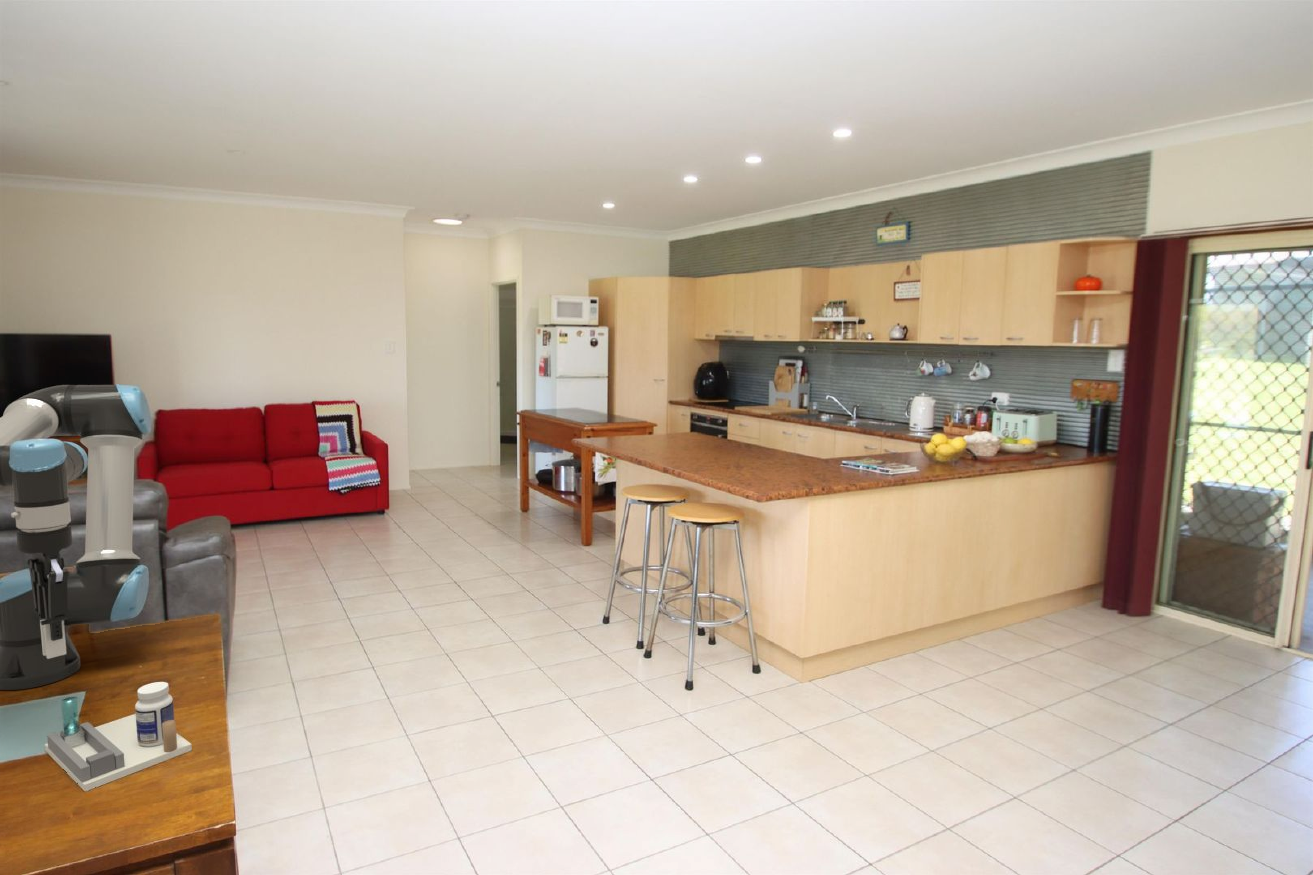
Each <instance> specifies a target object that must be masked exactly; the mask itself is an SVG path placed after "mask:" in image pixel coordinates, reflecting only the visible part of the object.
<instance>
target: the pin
mask: <svg viewBox="0 0 1313 875" xmlns="http://www.w3.org/2000/svg"><path fill="white" fill-rule="evenodd" d="M60 705H61V716H62V726H63V727H62V729H63V730H62V731H59V732H58V733H59V734H58V735H59V736H60V737H61V738H62V739H63V740H64V741H65V742H66V743H67V744H68V745H69V746H70V747H71V748H74V747H77V746H79V745H82V744H85V739H84V731H83V730H82V729H81V728H80V721H79V708H78V707H79V706H78V698H77V696H69V697H66V698H63V699H61V701H60Z"/></svg>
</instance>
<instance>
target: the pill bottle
mask: <svg viewBox="0 0 1313 875" xmlns="http://www.w3.org/2000/svg"><path fill="white" fill-rule="evenodd" d="M169 691H170V687H169V683H168V682H166V681H156V682H151V683H150V682H149V683H148V684H144V685H142V686H141V687H139V688H138V689H137V691H136V692H137V699H139V700H137V701H136V703H135V705H134V711H135V712H134V714H136V727H137V740H138V743H139V744H140V745H141V746H156V745H160V744H163V731H162V723H163V722H165V721H168V720H175V711H174V699H173V696H172V695H171V694H170V693H169Z"/></svg>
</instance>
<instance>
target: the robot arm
mask: <svg viewBox="0 0 1313 875" xmlns="http://www.w3.org/2000/svg"><path fill="white" fill-rule="evenodd" d="M151 432H152V417H151V412H150V407H149V404H148V400H147V397H146V394H145V392H144V391H143V389H142V388H141V387H139V386H137V385H131V384H130V385H128V384H119V383H116V384H89V385H88V384H77V385H76V384H61V385H55V386H50V387H45V388H42V389H39V390H35V391H33V392H30V393H28V394H26V395H23V396H22V397H19V398H17V399H15V400H14V401H13V402H11V403H9V404H8V405H7V407H6V408H5V410H4V412H3V415H2V416H1V417H0V487H12V493H13V495H12V496H13V506H14V510H15V511H14V512H10V513H11V514H10V516H11V518H13V519H14V518H15V527H16V528H17V529H18V531H17V532H16V545H17V550H18V552H20V553H21V554H22V553H23V554H29V555H30V554H32V557H31V558H28V559H27V560H26V561H27V562H26V564H27V565H28V566H27V567H28V568H25V569H20V570H18V571H15V572H13V573H9V574H6V575H5V576H3V577H1V578H0V690H3V691H15V690H17V691H18V690H26V689H31V688H32V689H33V688H37V687H41V686H45V685H49V684H54V683H56V682H58V681H61V680H64V679H66V678H68V677H70V676H71V675H73V674H76V672H78V671H79V670H80V668H81V656H80V654H79V653H78V650H77V649H76V647H75V645H74V643H73V641H72V640H71V637H70V636H69V633H68V632H69V631H68V627H69V626H79V625H88V624H99V623H100V624H101V623H108V622H113V623H116V622H117V621H124V620H130V619H133V618H135V617H138V615H140V613H142V612H141V611H143V609H144V606H145V604H146V600H147V596H148V591H149V587H150V586H149V584H150V577H149V574H150V572H149V568H148V566H146V565H144V564H141V557H139V556H138V555H137V554H135V553H134V551H133V535H134V534H133V533H134V532H133V528H134V525H133V524H134V478H135V476H134V475H135V450H136V448H137V447H139V446H140V445H141V444H143V435H144V436H147V435H149V434H150V433H151ZM58 436H59V437H60V436H61V437H62V436H63V437H65V436H66V437H67V436H69V437H70V436H75V437H77V436H79V437H80V438H79V441H80V443H81V444H82V445H83V446H85V447H86V448H87V450H88V453H86V451H85V449H84V448H82V447H81V445H78V444H77V443H74V442H72V441H62V440H60V439H57V438H50V437H58ZM86 470H87V481H86V482H87V485H86V510H85V511H86V512H85V513H86V516H85V544H84V545H85V546H84V547H85V548H84V551H85V552H84V555H83V556H81V557H80V558H79V559H78V560H76V562H75V571H69V570H68V569H67V568H65V559H64V557H61V554H60V552H61V551H62V550H64V549H67V548H70V546H72V544H73V536H72V535H73V534H72V526H70V525H69V524H70V523H71V522H72V518H71V508H70V507H71V504H70V503H71V502H70V500H69V487H68V486H69V483H70V482H72V481H75V480H77V479H79V478H80V476H81V475H82V474H84V472H85V471H86Z"/></svg>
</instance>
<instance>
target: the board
mask: <svg viewBox="0 0 1313 875" xmlns="http://www.w3.org/2000/svg"><path fill="white" fill-rule="evenodd" d="M79 727H80V728H81V729H82V730H83V731H84V739H85V744H82V745H79V746H77V747H74V748H71V747H70V746H69V745H68V744H67V743H66V742H65V741H64V740H63V739H62V738H61V737H60V734H58V733H57V732H52V733H50V734H46V737H47V742H46V743H44V751H45V752H46V753H47V754H48V755H49V756H50V757H51V758H52V759H53V760H54V761H55V762H56V764H57V765H59V767H60V768H61V769H62V770H63V769H64V770H65V771H66V772H67V773H66V772H65V771H64V770H63V771H64V772H65V773H66V774H67V775H68V776H69V777H70V778H71V779H72V780H73V781H74V783H76V784H77V783H78V784H77V786H79V787H80V788H81V789H82V790H83V791H84V792H88V791H91V790H93V789H96V788H99V787H101V786H103V785H106V784H108V783H111V782H114V781H116V780H119V779H122V778H123V777H127V776H130V775H131V774H134V773H137V772H140V771H143V770H145V769H147V768H149V767H152V766H154V765H157V764H160V763H162V762H165V761H168V760H172V759H173V758H176V757H178V756H180V755H183V754H185V753H188V752H191V751H193V750H192V749H193V747H192V743H191V742H189V741H188V740H187V739H186V738H184V737H183V736H181V734H178V732H177V723H176V720H175V719H174V720H168V721H165V722H163V723H162V731H163V744H160V745H156V746H141V745H140V744H139V743H138V740H137V727H136V714H135V713H133V714H130V715H128V716H124V717H122V718H119V719H115V720H113V721H110V722H106V723H104V724H100V725H98V726H95V727H94V726H93V724H91V723H90V722H88V721H85V722H83V723H79ZM95 787H96V788H95Z"/></svg>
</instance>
